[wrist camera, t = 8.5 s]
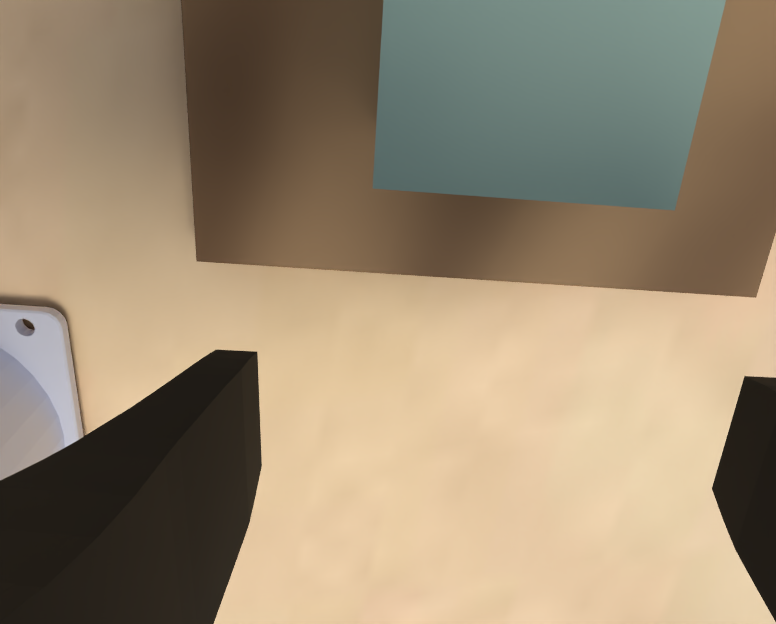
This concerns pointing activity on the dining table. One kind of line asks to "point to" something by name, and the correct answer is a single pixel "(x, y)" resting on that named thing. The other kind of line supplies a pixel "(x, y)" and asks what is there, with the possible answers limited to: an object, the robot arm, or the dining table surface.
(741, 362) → the dining table surface
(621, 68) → the teal cube
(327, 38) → the walnut board
